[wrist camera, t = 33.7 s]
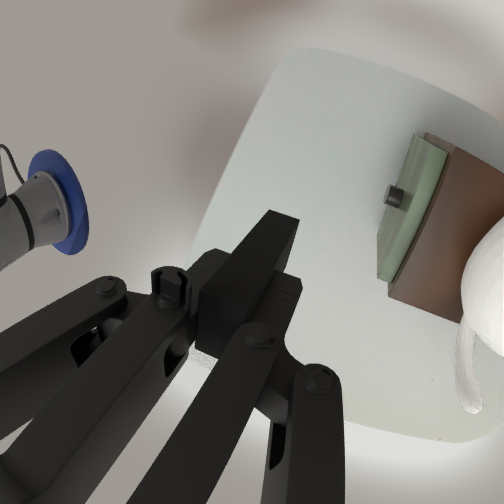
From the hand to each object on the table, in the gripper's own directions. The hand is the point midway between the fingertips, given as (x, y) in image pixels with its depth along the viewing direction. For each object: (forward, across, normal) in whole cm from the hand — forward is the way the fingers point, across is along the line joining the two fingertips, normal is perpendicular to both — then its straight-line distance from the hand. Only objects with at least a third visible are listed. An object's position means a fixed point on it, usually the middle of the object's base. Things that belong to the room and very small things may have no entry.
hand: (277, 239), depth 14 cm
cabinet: (+15, +16, +1) cm, 22 cm away
